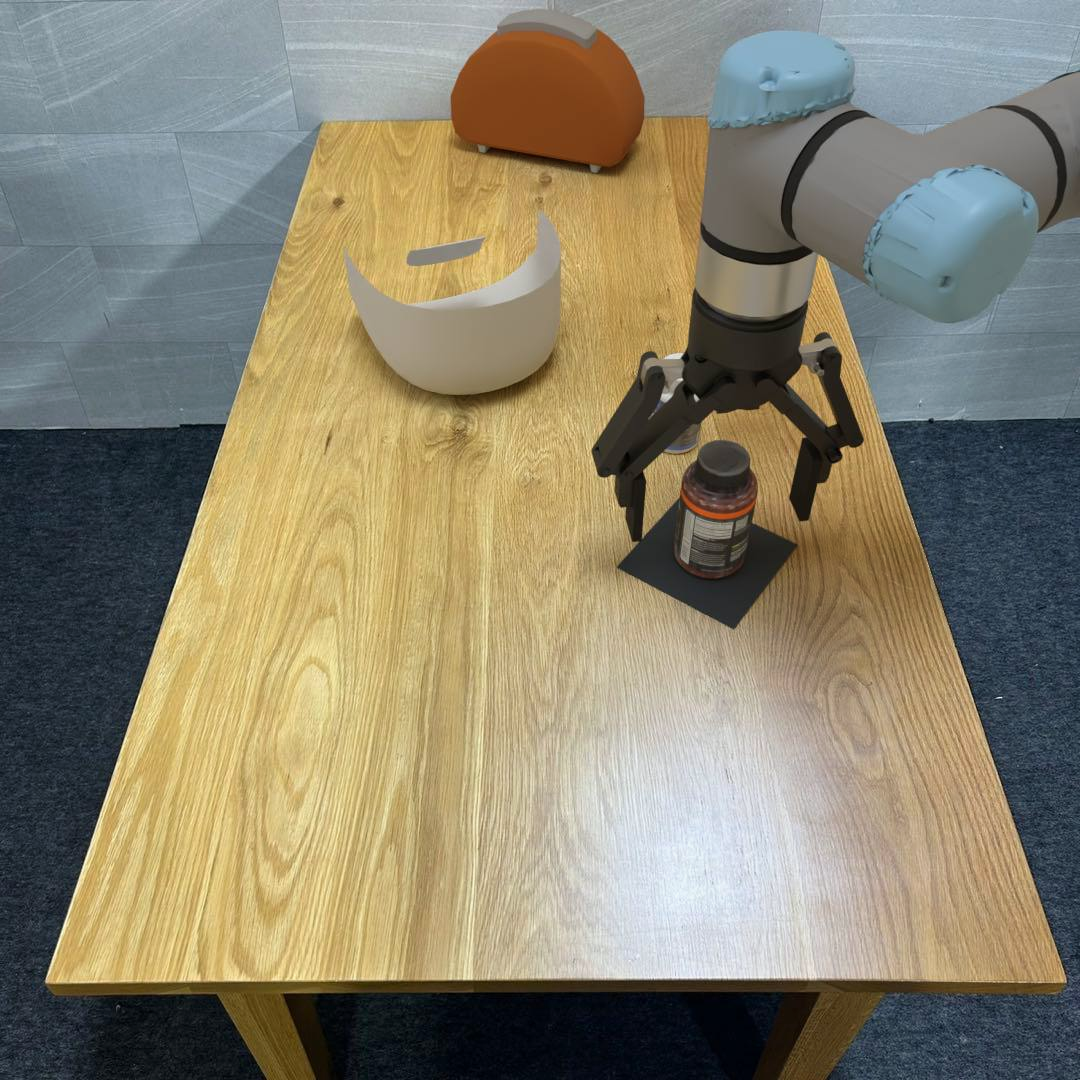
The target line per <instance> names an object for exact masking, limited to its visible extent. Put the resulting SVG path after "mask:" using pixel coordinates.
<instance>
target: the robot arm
mask: <svg viewBox="0 0 1080 1080" xmlns="http://www.w3.org/2000/svg"><path fill="white" fill-rule="evenodd" d="M855 72H856V64H855V59H854V57H853V56H852V54H851V53H850V52H849V51H848V50H846V47H845V46H844V45H843V44H842V43H841V42H840V41H838V40H835V39H833V38H831V37H829V36H826V35H822V34H819V33H815V32H810V31H803V30H789V29H788V30H787V29H785V30H782V29H780V30H770V31H769V30H768V31H763V32H759V33H756V34H752V35H750V36H747V37H743V38H741V39H740V40H738V41H736V42H735V43H733V44H732V45H731V46H730V47H729V48H728V49H727V50H726V51H725V52H724V54H723V56H722V57H721V60H720V62H719V65H718V69H717V75H716V81H715V86H714V93H713V97H712V103H711V110H710V114H709V115H708V117H707V126H708V127H709V128H708V141H707V152H706V162H705V171H704V172H705V173H704V184H703V193H702V194H703V195H702V204H701V205H702V206H701V215H700V223H699V234H698V243H697V253H696V263H695V272H694V273H695V274H694V281H693V282H694V288H693V291H692V297H691V306H690V315H689V324H688V325H689V326H688V334H687V336H688V337H687V346H686V349H685V350H684V352H683V353H684V354H683V355H682V356H681V358H680V359H664V358H659V356H658V354H657V352H655V351H653V350H650V351H646V352H643V354H642V355H641V356H640V359H639V364H638V369H637V374H636V378H635V380H634V381H633V383H632V384H631V386H630V387H629V389H628V391H627V392H626V394H625V395H624V398H622V400H621V402H620V403H619V405H618V406H617V408H616V410H615V412H614V413H613V415H612V416H611V418H610V419H609V421H608V422H607V424H606V426H605V427H604V429H603V431H602V432H601V433H600V435H599V437H598V438H597V440H596V441H595V443H594V444H593V446H592V448H591V450H590V451H591V455H592V459H593V463H594V466H595V470H596V473H597V476H598V477H599V478H603V479H606V478H609V477H610V476H614V495H615V498H616V501H617V504H618V506H619V508H620V509H622V508H625V516H624V518H625V522H626V526H627V529H628V532H629V536H630V539H631V543H639V542H640V541H642V538H643V530H644V518H645V517H644V516H645V505H646V504H645V503H646V490H647V479H646V476H645V473H644V471H645V470H646V469H647V468H648V467H649V466H650V465H651V464H652V463H654V461H655V460H656V459H658V457H660V456H661V455H662V453H664V451H665V450H666V449H667V448H668V447H669V446H670V445H671V444H672V443H673V442H674V441H675V440H676V439H677V438H678V437H679V436H680V435H682V434H683V433H684V432H685V431H686V430H687V429H688V428H689V427H690V426H691V425H692V424H696V425H698V424H700V423H701V422H703V421H704V420H705V419H707V417H708V416H710V415H711V414H712V413H713V412H715V413H716V414H717V415H721V414H728V413H731V412H734V411H738V410H742V411H755V410H756V411H757V410H760V408H761V407H760V406H763V405H765V404H767V403H770V404H771V405H772V406H773V407H774V408H775V409H776V410H777V411H778V412H779V413H780V414H781V415H782V416H783V415H784V416H785V417H786V418H787V419H788V420H789V421H790V422H791V423H792V425H794V426H795V427H796V429H798V430H799V431H800V432H801V433H802V434H803V435H804V436H805V437H801V441H800V446H799V450H798V454H797V455H798V456H797V459H796V465H795V469H794V474H793V478H792V482H791V487H790V492H789V496H788V499H789V502H790V504H791V506H792V508H793V511H794V513H795V515H796V517H797V519H798V521H799V522H800V523H801V522H808V521H809V520H810V516H811V512H812V509H813V504H814V500H815V496H816V492H817V489H818V485H819V484H826V483H827V481H828V480H829V478H830V474H831V471H832V466H833V465H835V464H837V463H840V462H841V461H842V460H843V457H844V455H843V453H842V451H841V449H843V448H845V447H847V446H848V447H849V448H851V449H856V448H859V447H860V446H862V445H863V444H864V442H865V437H864V435H863V433H862V430H861V428H860V425H859V422H858V420H857V416H856V414H855V412H854V409H853V406H852V404H851V402H850V399H849V396H848V394H847V391H846V389H845V386H844V383H843V380H842V378H841V374H842V373H841V371H842V362H843V355H842V353H841V352H840V350H839V348H838V347H837V345H836V343H835V341H834V339H833V337H832V336H831V334H830V333H829V332H826V331H822V332H819V333H818V334H816V335H815V337H814V338H813V342H811V343H804V344H802V340H803V334H804V330H805V329H804V328H805V323H806V319H807V314H808V309H809V299H810V298H811V294H812V289H813V284H814V278H815V275H816V269H817V263H818V259H819V256H821V257H822V258H824V259H825V260H827V261H828V262H830V263H831V264H833V265H835V266H836V267H838V268H840V269H841V270H843V271H844V272H846V273H848V274H849V275H851V276H852V277H854V278H856V279H857V280H859V281H860V282H861V283H863V284H865V285H866V286H868V287H870V288H871V289H873V292H875V293H876V294H877V295H880V297H881V298H883V299H884V300H886V301H890V302H892V303H893V304H896V305H897V304H901V305H903V306H904V307H906V308H908V309H911V310H912V311H914V312H916V313H918V314H920V315H922V316H923V317H926V318H928V319H929V320H931V321H934V322H937V323H941V324H957V323H962V322H965V321H967V320H969V319H972V318H974V317H976V316H978V315H979V314H981V313H982V312H984V311H985V310H987V308H988V307H989V306H990V305H991V303H992V302H993V300H994V299H995V298H996V297H997V296H998V295H1002V294H1003V293H1005V292H1006V291H1007V289H1008V288H1009V287H1010V286H1011V285H1012V283H1013V282H1014V281H1015V279H1016V277H1017V276H1018V275H1019V273H1020V272H1021V270H1022V268H1023V267H1024V265H1025V263H1026V262H1027V260H1028V257H1029V255H1030V253H1031V251H1032V248H1033V246H1034V244H1035V241H1036V237H1037V235H1038V234H1039V233H1041V232H1043V231H1045V230H1048V229H1049V228H1052V227H1054V226H1056V225H1058V224H1060V223H1063V222H1065V221H1069V220H1073V219H1078V218H1080V68H1077V69H1075V70H1071V71H1068V72H1065V73H1061V74H1059V75H1056V76H1054V77H1052V78H1051V79H1049V80H1048V81H1046V82H1045V83H1044V84H1042V85H1039V86H1037V87H1034V88H1033V89H1030V90H1027V91H1026V92H1023V93H1021V94H1018V95H1016V96H1014V97H1012V98H1009V99H1007V100H1004V101H1002V102H1000V103H997V104H994V105H990V106H988V107H986V108H983V109H981V110H978V111H976V112H974V113H971V114H969V115H966V116H964V117H961V118H959V119H957V120H954V121H952V122H949V123H947V124H944V125H941V126H939V127H936V128H934V129H931V130H929V131H927V132H923V133H920V134H919V133H918V134H917V133H912V132H909V131H907V130H904V129H903V128H900V127H899V126H896V125H894V124H893V123H889V122H887V121H886V120H883V119H881V118H878V117H876V116H874V115H872V114H871V113H869V112H867V110H864V109H861V108H860V107H857V106H855V105H853V104H852V103H851V100H852V98H853V96H854V93H855V91H856V87H855V85H854V79H855V74H856V73H855ZM802 366H806V367H807V369H808V371H809V372H810V373H811V374H813V375H816V376H817V378H818V381H819V383H820V386H821V388H822V390H823V393H824V396H825V397H826V400H827V402H828V406H829V408H830V410H831V412H832V415H833V418H834V420H835V422H836V423H834V424H832V425H829V426H828V425H827V424H826V423H825V421H824V420H822V418H821V417H819V415H818V414H817V413H816V412H815V411H814V410H813V409H812V408H811V407H810V406H809V405H808V404H807V403H806V401H805V400H804V399H803V398H802V397H801V396H800V395H799V394H798V393H797V392H796V391H795V390H794V389H793V387H791V385H790V384H788V383H789V381H790V380H791V379H793V377H794V376H795V375H796V374H797V373H798V372H799V371H800V370H801V367H802ZM681 378H683V380H682V381H681V382H680V383H679V384H678V385H677V386H676V388H675V390H674V394H673V396H672V397H671V398H670V399H669V400H668V401H667V402H666V403H665V404H664V405H663V406H662V407H661V408H660V409H659V410H658V411H657V412H656V413H655V414H654V415H653V416H652V417H651V415H652V413H653V412H654V410H655V409H656V407H657V405H658V403H659V401H660V399H661V396H662V394H667V393H668V392H669V390H670V389H669V387H670V386H671V384H672V383H673V382H674V381H675V380H677V379H681ZM694 394H695V395H696V396H697V397H698V398H699V400H698V401H697V402H696V401H695V398H694Z"/></svg>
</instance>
